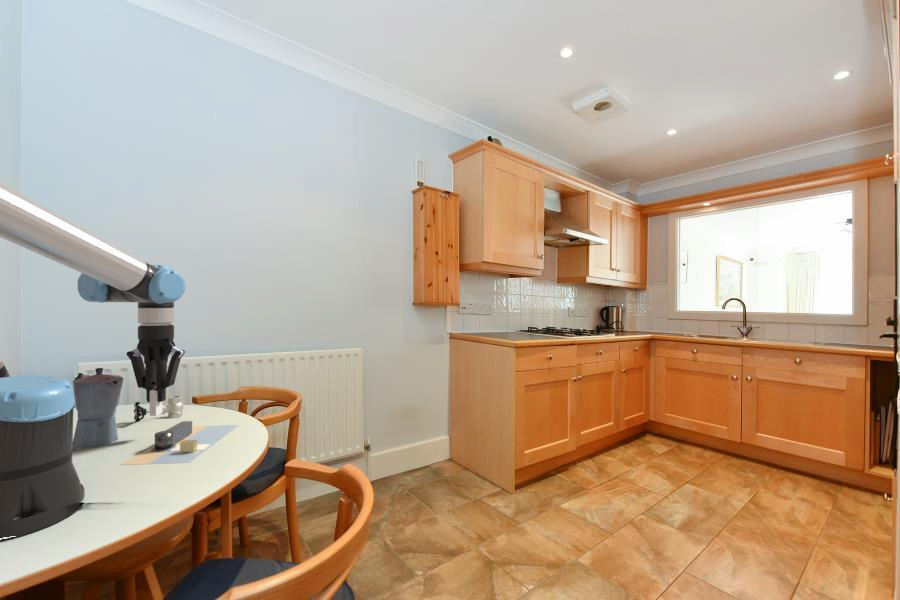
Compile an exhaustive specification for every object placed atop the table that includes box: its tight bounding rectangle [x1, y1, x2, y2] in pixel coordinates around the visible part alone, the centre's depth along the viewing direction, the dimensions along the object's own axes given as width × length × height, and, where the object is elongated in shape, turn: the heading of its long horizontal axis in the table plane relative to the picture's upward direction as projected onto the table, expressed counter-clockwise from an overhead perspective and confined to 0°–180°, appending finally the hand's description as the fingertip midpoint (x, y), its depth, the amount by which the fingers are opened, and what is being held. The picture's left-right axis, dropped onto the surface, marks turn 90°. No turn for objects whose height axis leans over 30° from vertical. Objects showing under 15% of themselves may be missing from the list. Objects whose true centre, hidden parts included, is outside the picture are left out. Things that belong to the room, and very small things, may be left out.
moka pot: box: [72, 367, 124, 452], centre depth 96 cm, size 10×15×20 cm, turn 78°
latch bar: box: [153, 420, 193, 450], centre depth 96 cm, size 12×4×4 cm, turn 7°
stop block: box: [180, 440, 197, 453], centre depth 91 cm, size 2×3×2 cm, turn 97°
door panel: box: [120, 424, 240, 466], centre depth 97 cm, size 26×14×1 cm, turn 7°
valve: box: [133, 395, 184, 424], centre depth 118 cm, size 7×7×12 cm
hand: (156, 413), depth 99 cm, fingers closed
